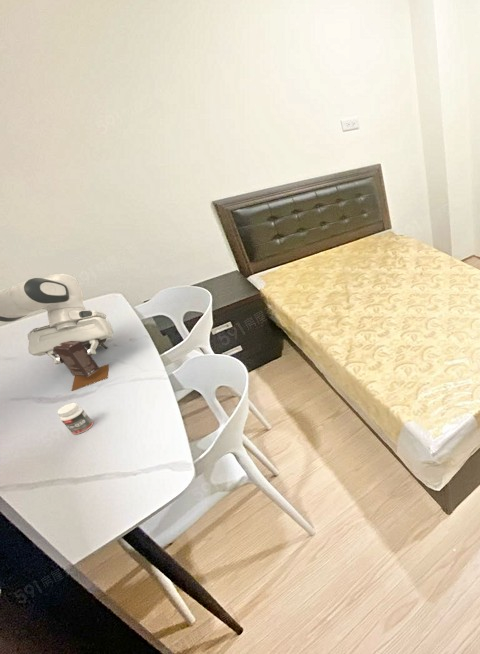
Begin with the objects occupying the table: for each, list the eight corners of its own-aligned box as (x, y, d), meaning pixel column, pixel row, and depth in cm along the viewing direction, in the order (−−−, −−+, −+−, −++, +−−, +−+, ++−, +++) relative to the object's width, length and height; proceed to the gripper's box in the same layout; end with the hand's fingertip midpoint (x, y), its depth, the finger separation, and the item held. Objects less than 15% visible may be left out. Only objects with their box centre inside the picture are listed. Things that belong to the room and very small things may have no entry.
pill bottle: (72, 437, 114) (54, 417, 110) (72, 427, 117) (55, 408, 113) (93, 428, 117) (77, 408, 113) (93, 418, 120) (77, 399, 116)
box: (101, 368, 136) (81, 340, 130) (87, 377, 133) (66, 349, 127) (86, 366, 137) (66, 339, 131) (72, 376, 134) (51, 348, 127)
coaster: (72, 390, 131) (71, 390, 131) (75, 376, 137) (74, 375, 137) (107, 378, 135) (106, 377, 135) (108, 364, 142) (108, 363, 142)
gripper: (19, 328, 127) (26, 369, 124) (101, 308, 135) (109, 346, 133) (33, 332, 132) (40, 371, 130) (111, 313, 141) (119, 349, 138)
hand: (75, 358), depth 131 cm, fingers closed on box, 7 cm apart
